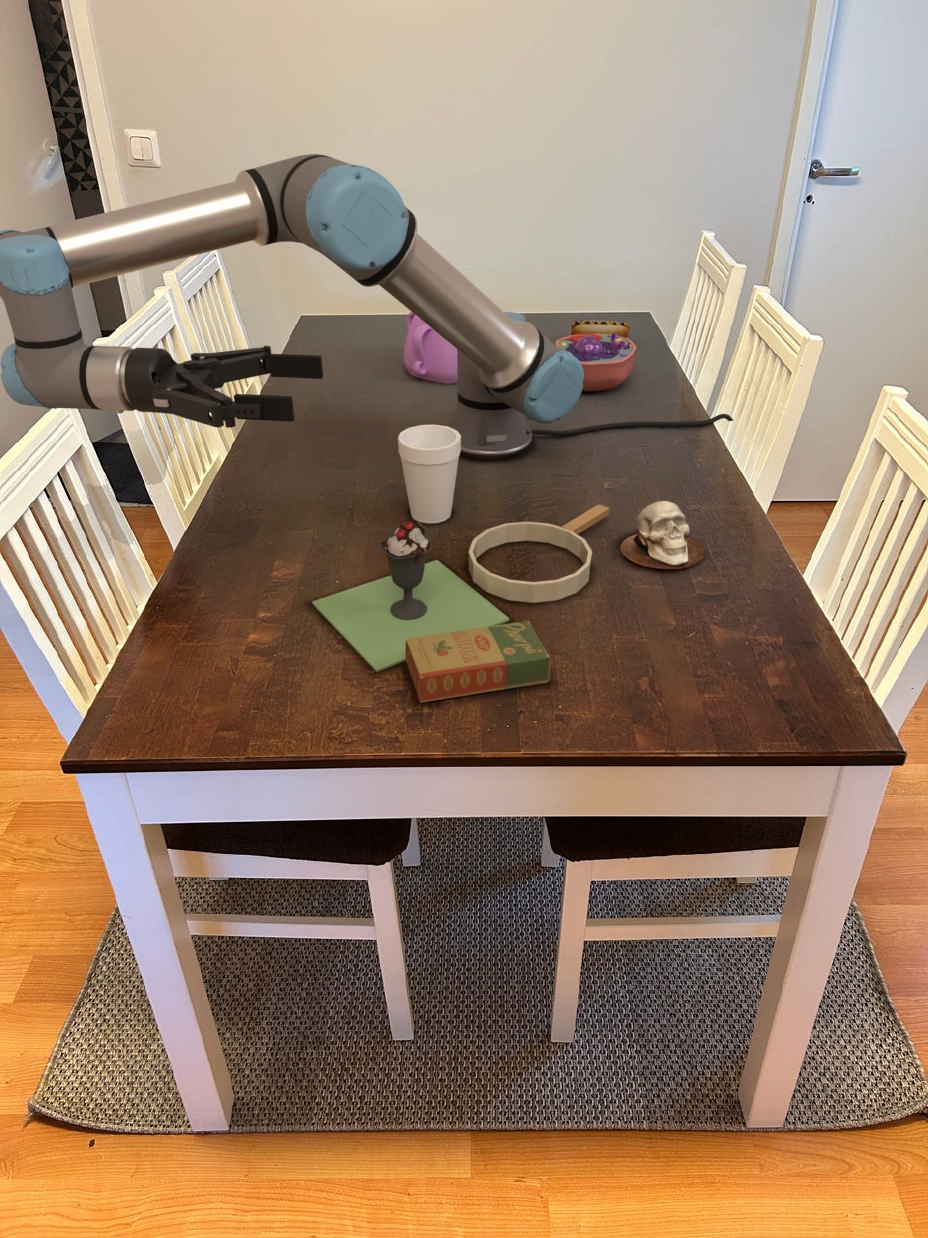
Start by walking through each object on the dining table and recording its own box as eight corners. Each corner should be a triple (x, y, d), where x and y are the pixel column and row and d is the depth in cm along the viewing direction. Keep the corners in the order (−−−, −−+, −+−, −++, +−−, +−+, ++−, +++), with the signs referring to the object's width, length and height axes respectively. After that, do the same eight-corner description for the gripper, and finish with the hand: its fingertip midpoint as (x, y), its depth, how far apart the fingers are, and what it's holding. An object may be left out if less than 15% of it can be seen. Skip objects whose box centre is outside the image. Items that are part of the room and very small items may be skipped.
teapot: (404, 355, 208) (401, 290, 200) (496, 353, 209) (498, 288, 201) (405, 387, 192) (402, 317, 184) (505, 384, 193) (507, 314, 185)
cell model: (648, 379, 196) (654, 325, 189) (608, 410, 182) (613, 353, 176) (576, 364, 203) (580, 312, 197) (532, 393, 189) (534, 337, 183)
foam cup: (391, 521, 145) (388, 444, 137) (414, 496, 152) (412, 421, 144) (448, 532, 142) (448, 453, 135) (469, 505, 149) (469, 429, 142)
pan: (587, 512, 147) (589, 495, 146) (663, 559, 135) (666, 541, 134) (446, 560, 135) (446, 542, 134) (516, 616, 123) (517, 597, 122)
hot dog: (628, 348, 212) (631, 326, 210) (570, 346, 213) (571, 324, 211) (627, 341, 216) (630, 319, 214) (570, 339, 218) (571, 317, 215)
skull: (724, 561, 133) (687, 520, 127) (667, 607, 136) (628, 568, 130) (692, 519, 142) (655, 479, 136) (639, 562, 145) (601, 525, 139)
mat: (437, 561, 135) (437, 559, 135) (509, 620, 123) (509, 618, 122) (312, 604, 126) (311, 601, 126) (376, 672, 113) (376, 669, 113)
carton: (405, 664, 115) (404, 635, 112) (528, 644, 118) (530, 616, 116) (420, 705, 108) (419, 676, 106) (550, 683, 112) (552, 655, 109)
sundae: (396, 629, 120) (391, 527, 112) (376, 603, 125) (369, 504, 117) (442, 616, 123) (440, 515, 114) (420, 591, 128) (417, 493, 119)
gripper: (178, 373, 124) (334, 380, 122) (97, 451, 104) (282, 461, 102) (168, 317, 120) (329, 323, 118) (81, 387, 100) (274, 395, 98)
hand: (308, 387), depth 110 cm, fingers open, 13 cm apart
